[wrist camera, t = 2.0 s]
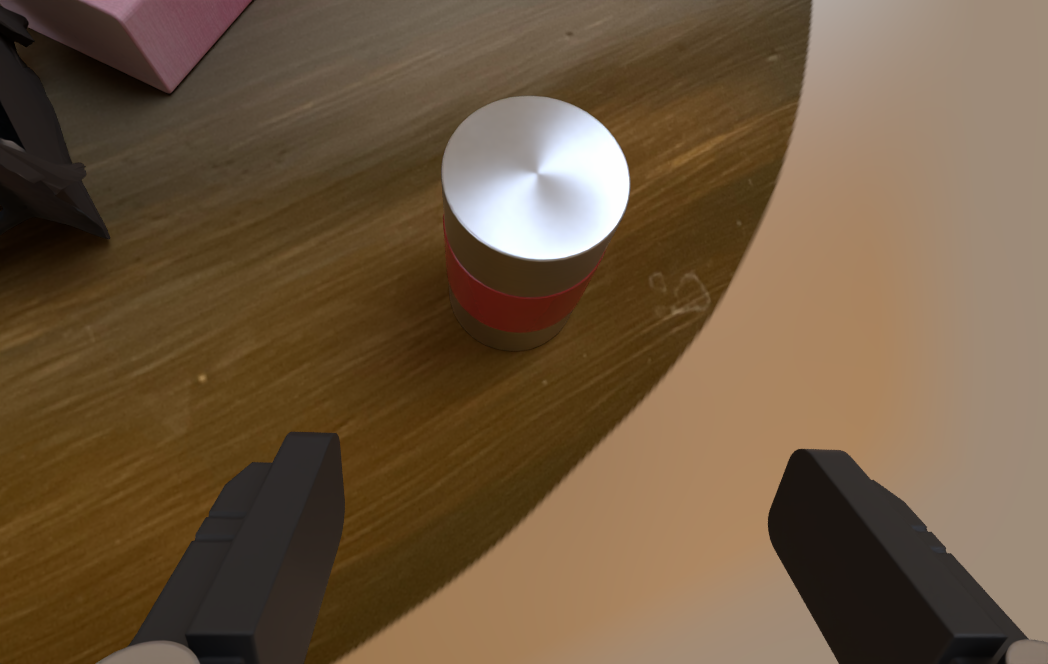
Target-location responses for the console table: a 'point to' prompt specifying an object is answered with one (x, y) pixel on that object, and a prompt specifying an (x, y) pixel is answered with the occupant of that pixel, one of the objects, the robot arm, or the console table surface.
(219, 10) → the popsicle
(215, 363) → the console table surface
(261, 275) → the console table surface
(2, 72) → the lantern
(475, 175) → the can
